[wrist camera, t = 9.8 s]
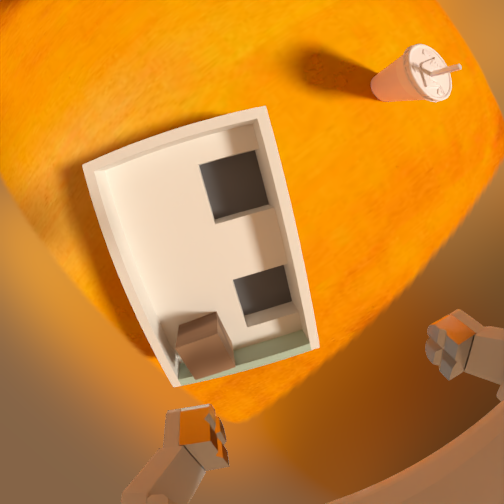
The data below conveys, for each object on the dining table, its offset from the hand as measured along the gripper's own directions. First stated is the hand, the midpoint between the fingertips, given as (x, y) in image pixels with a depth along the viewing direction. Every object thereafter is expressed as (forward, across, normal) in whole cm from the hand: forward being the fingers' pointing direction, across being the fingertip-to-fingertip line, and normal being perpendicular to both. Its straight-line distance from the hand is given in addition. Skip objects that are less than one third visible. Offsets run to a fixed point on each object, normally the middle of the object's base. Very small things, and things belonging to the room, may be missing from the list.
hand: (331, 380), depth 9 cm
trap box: (+24, +4, +2) cm, 24 cm away
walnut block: (+20, +8, +10) cm, 24 cm away
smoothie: (+24, -21, -12) cm, 35 cm away
